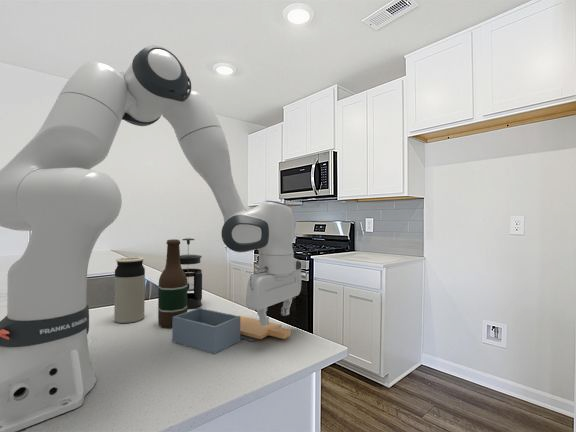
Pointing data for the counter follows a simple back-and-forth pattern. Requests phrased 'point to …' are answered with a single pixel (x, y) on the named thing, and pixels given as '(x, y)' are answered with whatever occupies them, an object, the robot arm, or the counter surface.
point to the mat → (247, 338)
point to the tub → (206, 330)
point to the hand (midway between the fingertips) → (275, 319)
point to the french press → (195, 297)
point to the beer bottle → (172, 287)
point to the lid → (262, 329)
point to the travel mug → (129, 290)
